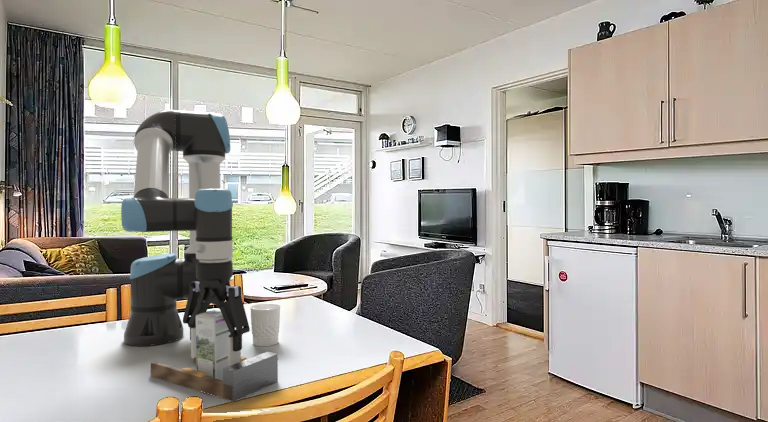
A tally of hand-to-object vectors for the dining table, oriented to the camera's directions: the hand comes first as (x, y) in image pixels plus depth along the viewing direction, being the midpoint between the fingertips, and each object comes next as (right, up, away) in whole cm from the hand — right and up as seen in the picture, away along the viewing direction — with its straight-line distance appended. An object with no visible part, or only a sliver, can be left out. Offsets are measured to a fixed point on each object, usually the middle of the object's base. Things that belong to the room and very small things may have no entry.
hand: (215, 360), depth 104 cm
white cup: (+4, -4, +27) cm, 27 cm away
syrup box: (0, -4, 0) cm, 4 cm away
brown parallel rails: (-1, -4, +1) cm, 4 cm away
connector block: (+9, -4, -6) cm, 12 cm away
